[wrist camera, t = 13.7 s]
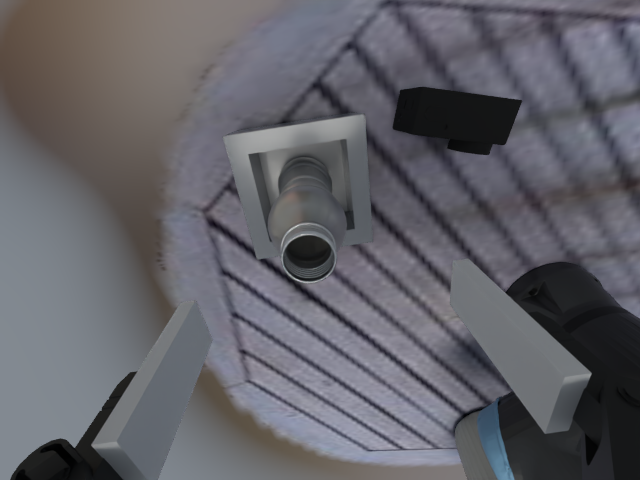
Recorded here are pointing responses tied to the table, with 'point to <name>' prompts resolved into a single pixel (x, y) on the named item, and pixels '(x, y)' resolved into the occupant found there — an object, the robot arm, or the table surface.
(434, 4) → the table surface
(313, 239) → the plastic bottle
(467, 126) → the digital camera
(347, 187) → the well
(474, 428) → the canister
